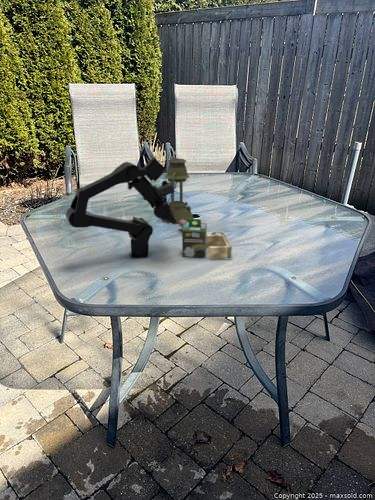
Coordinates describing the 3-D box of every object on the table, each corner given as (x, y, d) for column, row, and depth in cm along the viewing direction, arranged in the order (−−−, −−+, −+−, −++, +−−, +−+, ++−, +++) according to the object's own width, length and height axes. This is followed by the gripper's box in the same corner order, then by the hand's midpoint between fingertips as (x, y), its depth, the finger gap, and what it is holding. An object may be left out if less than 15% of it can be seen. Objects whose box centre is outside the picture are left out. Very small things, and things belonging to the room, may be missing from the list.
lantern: (189, 226, 182) (190, 163, 170) (154, 223, 185) (152, 161, 173) (196, 213, 200) (198, 156, 188) (164, 211, 203) (164, 154, 191)
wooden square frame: (209, 259, 147) (209, 247, 145) (204, 245, 159) (204, 234, 157) (230, 259, 147) (231, 247, 146) (224, 245, 160) (224, 234, 158)
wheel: (212, 242, 164) (212, 236, 162) (209, 237, 169) (210, 231, 168) (225, 241, 164) (226, 235, 163) (223, 236, 170) (223, 230, 168)
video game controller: (181, 231, 179) (175, 220, 176) (189, 226, 180) (183, 215, 176) (189, 239, 171) (182, 226, 167) (197, 233, 171) (191, 221, 168)
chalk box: (206, 249, 156) (207, 215, 151) (205, 258, 148) (206, 222, 142) (184, 248, 157) (184, 214, 151) (181, 257, 149) (182, 221, 143)
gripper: (165, 180, 132) (193, 212, 137) (160, 170, 149) (186, 199, 155) (141, 201, 133) (171, 232, 139) (139, 189, 150) (165, 217, 156)
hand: (174, 219), depth 147 cm, fingers open, 9 cm apart
